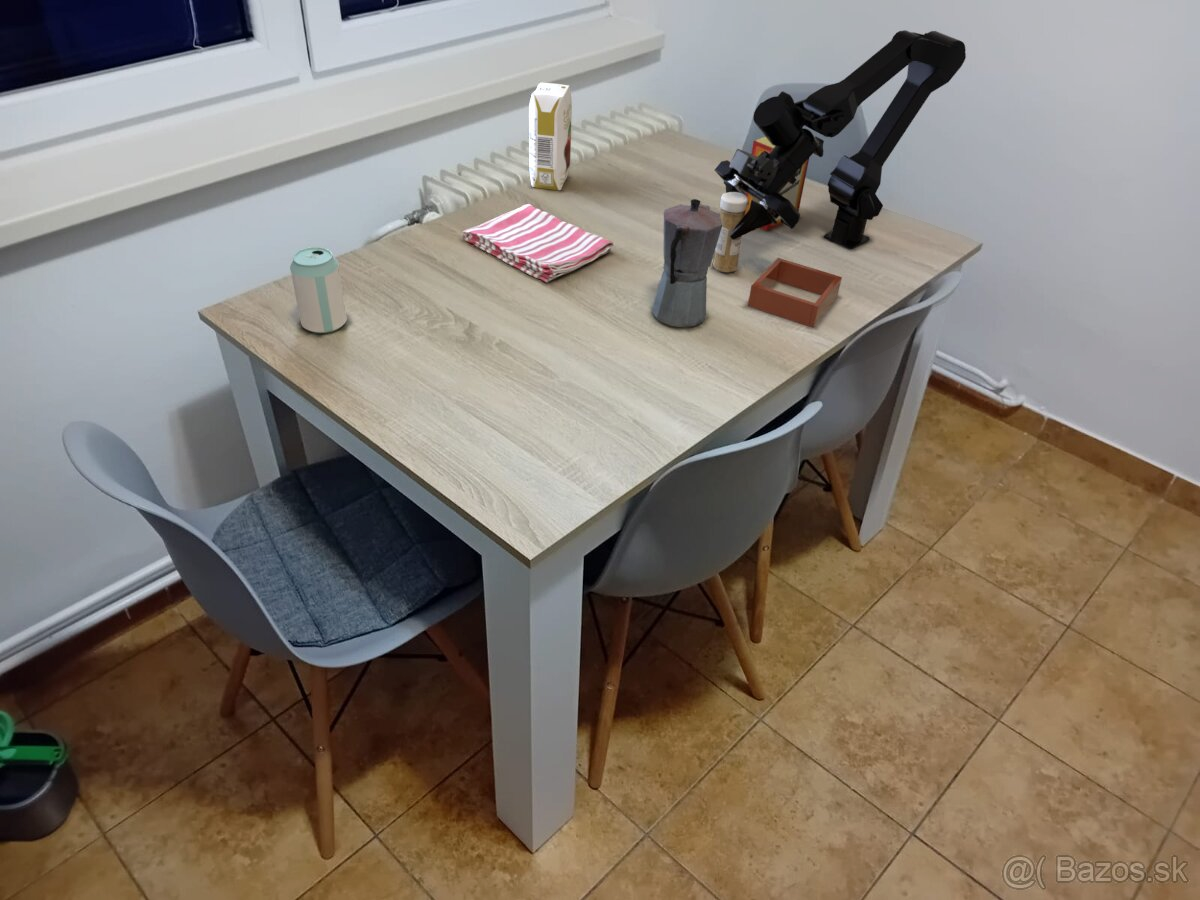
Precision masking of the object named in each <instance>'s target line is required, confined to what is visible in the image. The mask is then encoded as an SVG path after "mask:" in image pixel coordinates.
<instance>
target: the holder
mask: <svg viewBox="0 0 1200 900" xmlns="http://www.w3.org/2000/svg"><path fill="white" fill-rule="evenodd" d="M842 280H843V277H842V276H840V275H837V274H834V273H830V272H826V271H824V270H820V269H817V268H814V267H810V266H807V265H804V264H800V263H796V262H794V261H790V260H787V259H784V258H781V257H777V258H776V259H775V260H774V261H773V262H772V263H771V264H770V265H769V267H767V269H766V270H765V271H764V272H763V273H762V274H760V276H759V277H758V278H757V279H756V280H755V281H754V282H753V283H752V284H751V286H750V291H749V297H748V303H747V307H749V308H753V309H756V310H759V311H762V312H765V313H768V314H771V315H773V316H778V317H780V318H782V319H786V320H790V321H793V322H795V323H798V324H802V325H805V326H808V327H810V328H814V327H815V326H816V325H817V324H818V322H820V319H822V317H824V315H825V313H826V312H827V311H828V310H829V309H830V307H831V306H832V305H833V303H834V302H835V301H836V299H838V295H839V291H840V288H841V284H842ZM777 282H779V283H782V284H785V285H789V286H791V287H795V288H798V289H801V290H804V291H808V292H811V293H814V294H816V295H819V297H818V298H817V300H816V301H815V302H814V301H810V300H807V299H804V298H801V297H798V296H794V295H792V294H788V293H786V292H783V291H779V290H775V289H773V286H775V284H776V283H777Z"/></svg>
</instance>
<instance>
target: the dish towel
mask: <svg viewBox="0 0 1200 900" xmlns="http://www.w3.org/2000/svg"><path fill="white" fill-rule="evenodd" d="M461 236H462V238H463V240H464V241H466V242H467V243H470V244H472V245H474V246H475V247H477V248H479V249H480V250H482V251H484V252H487V253H488V254H491V255H493V256H494V257H496V258H497V259H498V260H501V261H502V262H504V263H505V264H508V265H509V266H511V267H514V268H516V269H518V270H520V271H521V272H523V273H525V274H526V275H527V274H528V275H529V276H531V277H533V278H535V279H538V280H541V281H542V282H544V283H549V282H551V281H553V280H555V279H557V278H558V277H561V276H563V275H567V274H569V273H571V272H573V271H576V270H578V269H579V268H581V267H583V266H584V265H587V264H589V263H592V262H593V261H595V260H596V259H599V257H602V256H604V255H606V254H608V253H610V251H611V250H612V249H613V247H614V243H615V242H613V241H611V240H608V239H606V238H604V237H602V236H600V235H597V234H594V233H592V232H588V231H585V230H584V229H582V228H580V227H579V226H576V225H574V224H573V223H569V222H567V221H564V220H562V219H560V218H558V217H556V216H555V215H553V214H551V213H549V212H547V211H544V210H542V209H539V208H537V207H535V206H533V205H532V204H531V203H526V204H523V205H521V207H518V208H516V209H513V210H511V211H509V212H506V213H503V214H501V215H499V216H497V217H495V218H493V219H490V220H488V221H485V222H484V223H482V224H480V225H477V226H474V227H470V228H467V229H465V230H463V231H462V232H461Z"/></svg>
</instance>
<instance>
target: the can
mask: <svg viewBox="0 0 1200 900" xmlns="http://www.w3.org/2000/svg"><path fill="white" fill-rule="evenodd" d="M289 269H290V274H291V279H292V285H293V290H294V295H295V301H296V305H297V311H298V315H299V320H300V325H301V326H302V328H304V329H305V330H306V331H309V332H312V333H316V334H327V333H328V334H329V333H332V332H334V331H337V330H338V329H340V328H341V327H343V325H345V324H346V323H347V320H348V316H347V311H346V310H347V309H346V304H345V298H344V291H343V290H344V289H343V284H342V278H341V277H342V276H341V273H340V265H339V261H338V259H337V258H336V257H334V255H333V252H332V251H331V250H330V249H328V248H325V247H322V246H308V247H304V248H302V249H299V250H297V251H296V252H295V253H294V254H293V255H292V262H291V263H290V266H289Z"/></svg>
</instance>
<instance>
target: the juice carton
mask: <svg viewBox="0 0 1200 900" xmlns="http://www.w3.org/2000/svg"><path fill="white" fill-rule="evenodd" d="M530 96H531V97H530V100H529V106H528V172H529V179H530V184H531V187H532V188H537V189H543V190H544V189H546V190H554V191H561V190H562V188H563V186H564V183H565V182H566V180H567V178H568V176H569V172H570V169H571V152H572V150H571V149H572V148H571V147H572V117H573V115H572V113H573V112H572V111H573V110H572V109H573V105H572V104H573V102H572V93H571V86H570V85H569V84H561V83H555V82H554V83H553V82H541V81H540V82H538V84H537V86H536V89H534V91H533V92H531V95H530Z"/></svg>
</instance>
